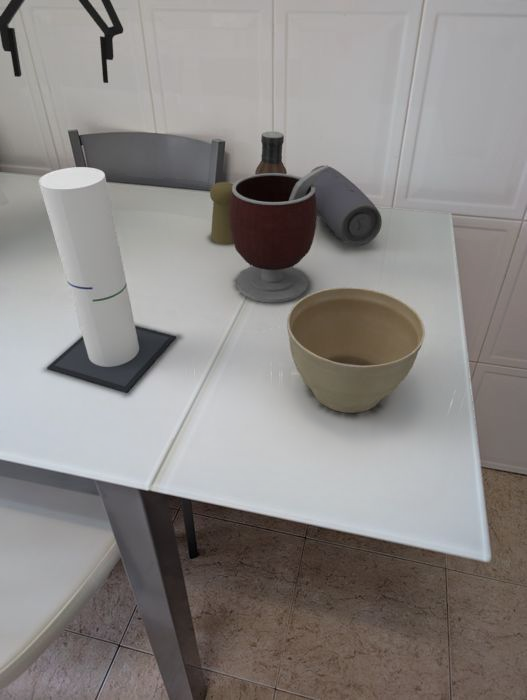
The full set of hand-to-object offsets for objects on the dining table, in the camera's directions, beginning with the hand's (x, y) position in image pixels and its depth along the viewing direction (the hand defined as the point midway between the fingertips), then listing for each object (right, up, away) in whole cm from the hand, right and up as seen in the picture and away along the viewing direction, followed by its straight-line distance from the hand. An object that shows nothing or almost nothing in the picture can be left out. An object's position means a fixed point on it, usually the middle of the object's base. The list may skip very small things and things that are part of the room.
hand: (62, 79), depth 82 cm
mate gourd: (+36, -34, +5) cm, 49 cm away
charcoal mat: (+12, -46, -11) cm, 48 cm away
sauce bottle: (+35, -22, +19) cm, 45 cm away
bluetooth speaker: (+49, -19, +22) cm, 57 cm away
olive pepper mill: (+26, -22, +19) cm, 39 cm away
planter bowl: (+44, -50, -17) cm, 69 cm away
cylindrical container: (+12, -45, -11) cm, 48 cm away
